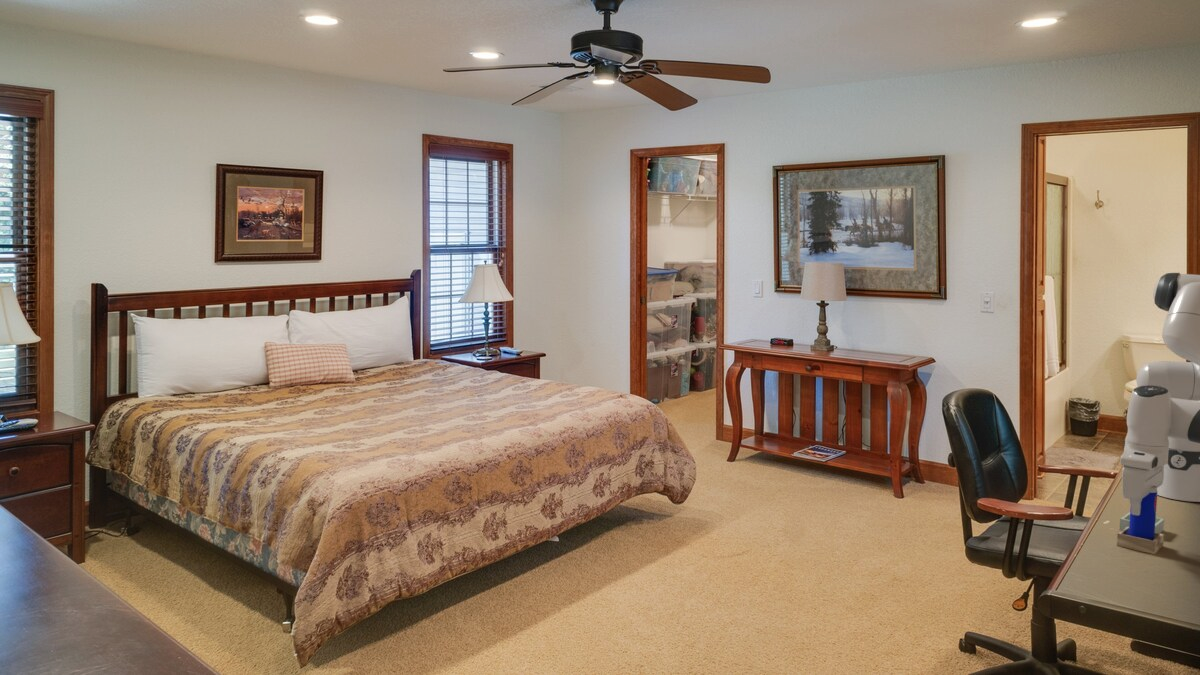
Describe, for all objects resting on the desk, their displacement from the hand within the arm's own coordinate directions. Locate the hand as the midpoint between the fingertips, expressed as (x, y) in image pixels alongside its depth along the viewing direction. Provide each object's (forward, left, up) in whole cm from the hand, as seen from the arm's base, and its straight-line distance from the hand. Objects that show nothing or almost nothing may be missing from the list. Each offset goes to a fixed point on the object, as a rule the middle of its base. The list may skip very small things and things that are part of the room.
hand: (1142, 510), depth 203 cm
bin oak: (0, 0, -9) cm, 9 cm away
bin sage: (-13, -3, -9) cm, 16 cm away
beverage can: (0, 0, -9) cm, 9 cm away
